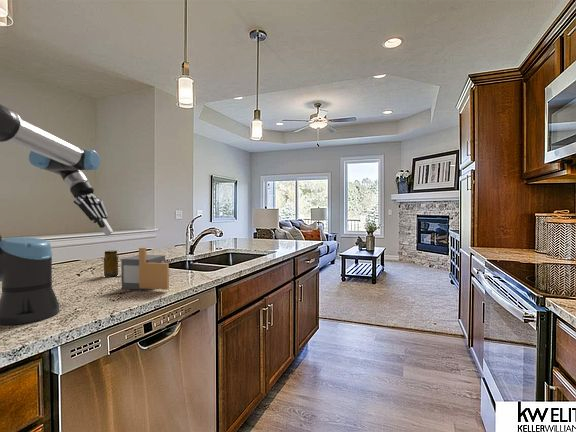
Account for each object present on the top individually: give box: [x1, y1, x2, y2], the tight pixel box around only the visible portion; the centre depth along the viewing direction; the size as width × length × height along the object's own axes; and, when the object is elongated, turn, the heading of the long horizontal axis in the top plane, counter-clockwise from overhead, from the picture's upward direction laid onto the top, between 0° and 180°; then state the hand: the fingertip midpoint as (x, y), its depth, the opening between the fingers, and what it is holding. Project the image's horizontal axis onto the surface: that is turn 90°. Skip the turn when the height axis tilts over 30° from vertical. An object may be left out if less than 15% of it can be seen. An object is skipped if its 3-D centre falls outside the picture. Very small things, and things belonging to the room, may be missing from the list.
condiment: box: [103, 250, 122, 278], centre depth 152 cm, size 7×8×12 cm
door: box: [138, 247, 170, 290], centre depth 124 cm, size 1×12×16 cm, turn 80°
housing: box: [120, 254, 168, 291], centre depth 132 cm, size 12×14×13 cm
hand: (109, 233), depth 126 cm, fingers closed
